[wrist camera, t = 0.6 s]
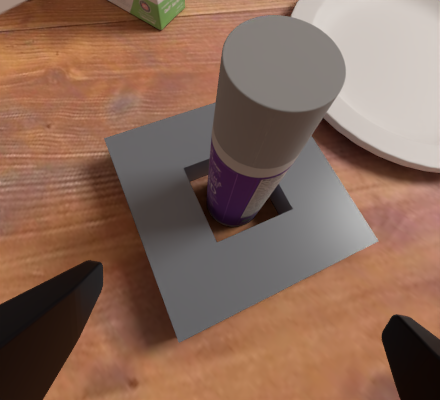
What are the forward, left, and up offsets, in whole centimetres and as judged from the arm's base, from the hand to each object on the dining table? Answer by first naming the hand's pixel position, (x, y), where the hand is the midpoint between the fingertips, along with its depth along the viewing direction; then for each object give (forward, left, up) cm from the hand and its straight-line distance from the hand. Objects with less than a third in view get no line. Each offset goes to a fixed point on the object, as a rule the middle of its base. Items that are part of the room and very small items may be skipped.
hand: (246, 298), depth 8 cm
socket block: (+7, -5, -13) cm, 16 cm away
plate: (+14, -30, -14) cm, 35 cm away
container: (+7, -5, -14) cm, 16 cm away
